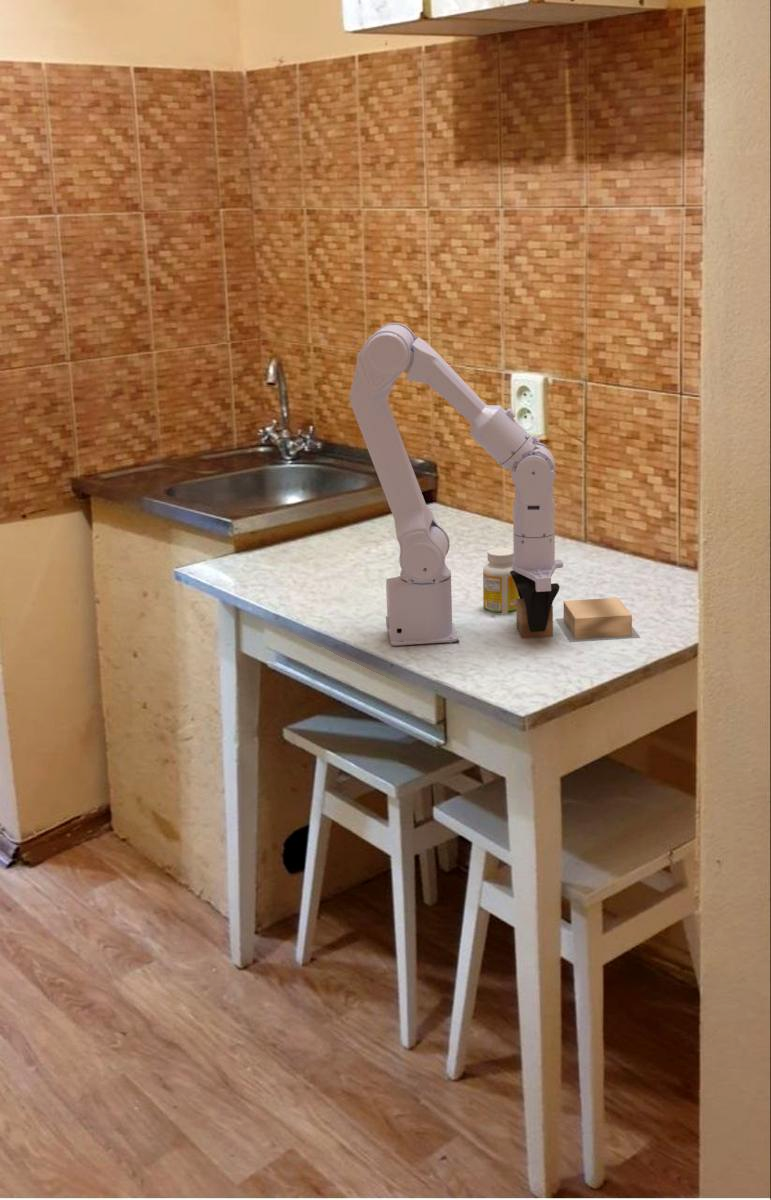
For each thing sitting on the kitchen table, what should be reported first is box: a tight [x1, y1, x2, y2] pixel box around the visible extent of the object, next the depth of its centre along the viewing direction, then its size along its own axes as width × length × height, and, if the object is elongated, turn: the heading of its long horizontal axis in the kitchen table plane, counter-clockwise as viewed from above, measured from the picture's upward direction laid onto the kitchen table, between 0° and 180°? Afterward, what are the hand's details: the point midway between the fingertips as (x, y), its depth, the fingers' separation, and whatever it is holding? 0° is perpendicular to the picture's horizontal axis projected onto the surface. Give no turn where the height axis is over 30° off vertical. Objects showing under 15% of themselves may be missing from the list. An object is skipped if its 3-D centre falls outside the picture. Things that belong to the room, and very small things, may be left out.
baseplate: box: [555, 617, 642, 643], centre depth 185 cm, size 10×10×1 cm
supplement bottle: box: [482, 547, 519, 616], centre depth 193 cm, size 5×5×10 cm
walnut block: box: [515, 598, 554, 639], centre depth 184 cm, size 4×4×5 cm
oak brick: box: [563, 597, 633, 639], centre depth 184 cm, size 8×8×3 cm
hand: (534, 625), depth 184 cm, fingers closed on walnut block, 4 cm apart
